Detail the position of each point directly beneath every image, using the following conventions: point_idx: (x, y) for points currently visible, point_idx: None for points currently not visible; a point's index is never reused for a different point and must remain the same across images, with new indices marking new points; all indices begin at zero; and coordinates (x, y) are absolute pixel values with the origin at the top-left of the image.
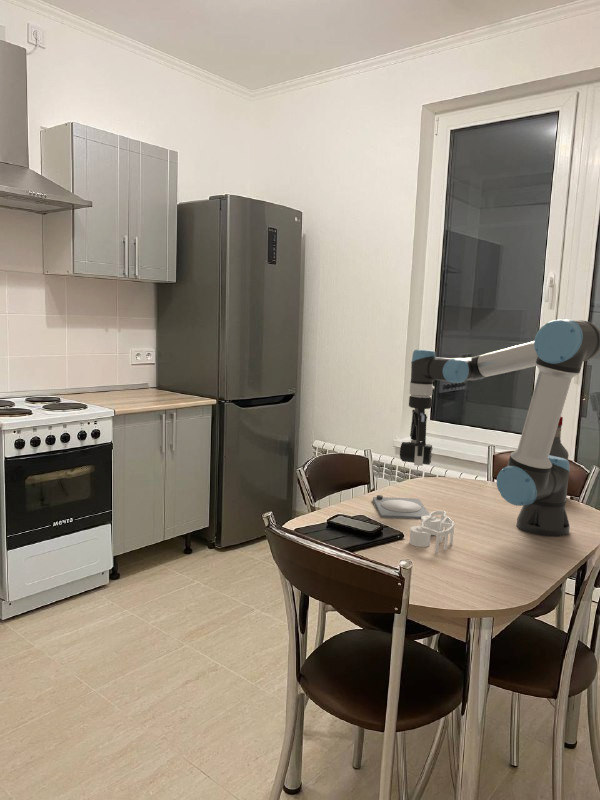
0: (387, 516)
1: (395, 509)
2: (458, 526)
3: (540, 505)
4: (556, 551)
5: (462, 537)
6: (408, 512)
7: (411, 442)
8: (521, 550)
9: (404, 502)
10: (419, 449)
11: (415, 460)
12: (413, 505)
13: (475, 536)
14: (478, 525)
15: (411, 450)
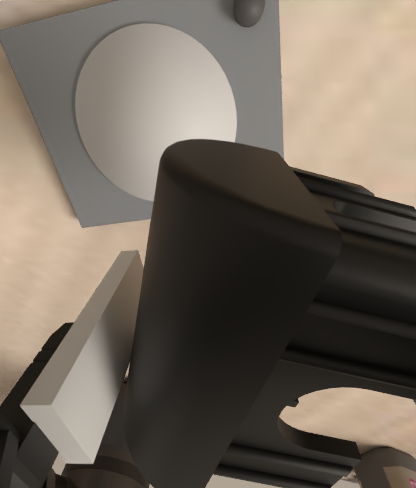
0: (12, 62)
1: (92, 99)
2: (85, 282)
3: (65, 465)
4: None
5: (7, 280)
6: (89, 154)
7: None
8: (5, 360)
9: None
10: (21, 396)
11: (109, 279)
12: None
13: (33, 305)
14: None
15: (141, 303)
